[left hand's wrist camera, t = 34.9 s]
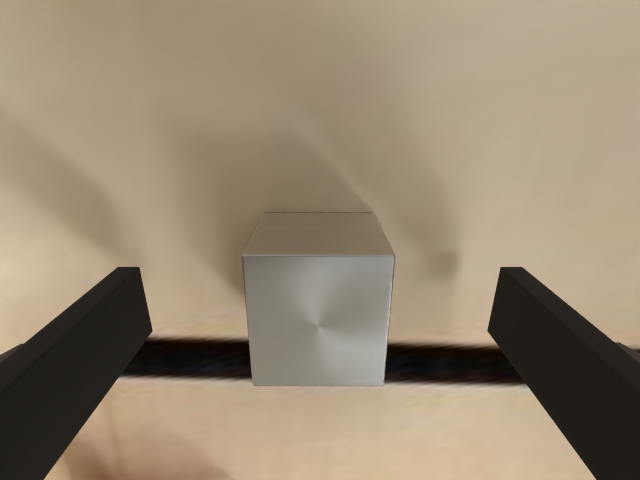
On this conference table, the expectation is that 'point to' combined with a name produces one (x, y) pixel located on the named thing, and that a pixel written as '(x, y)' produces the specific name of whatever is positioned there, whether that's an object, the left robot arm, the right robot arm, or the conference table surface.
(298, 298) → the block
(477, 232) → the conference table surface
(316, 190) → the conference table surface
